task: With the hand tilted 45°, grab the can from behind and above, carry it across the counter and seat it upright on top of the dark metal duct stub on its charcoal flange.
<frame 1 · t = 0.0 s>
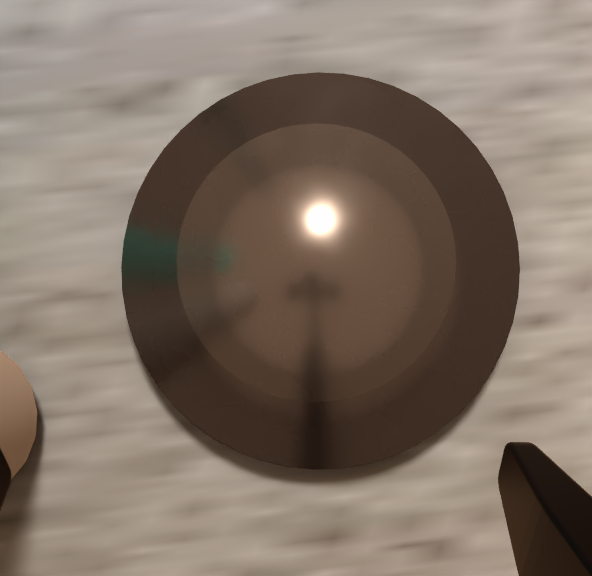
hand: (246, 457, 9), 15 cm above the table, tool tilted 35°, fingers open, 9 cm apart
duct stub: (316, 269, 24), on the table
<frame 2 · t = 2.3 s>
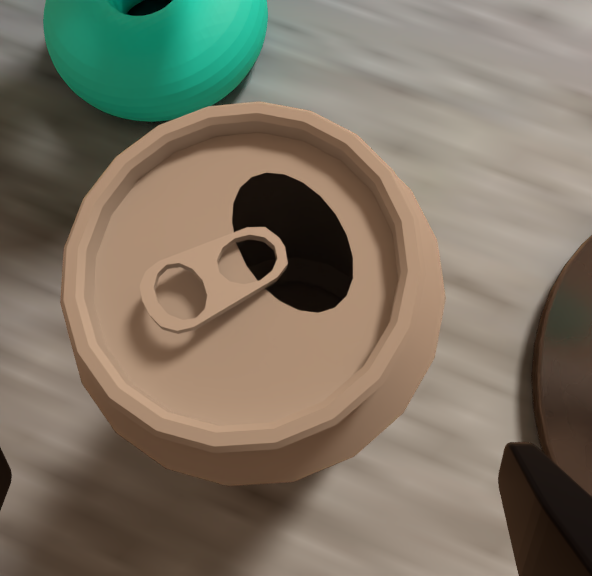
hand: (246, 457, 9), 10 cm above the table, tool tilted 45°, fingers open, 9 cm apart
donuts: (168, 45, 24), on the table
can: (291, 356, 20), on the table
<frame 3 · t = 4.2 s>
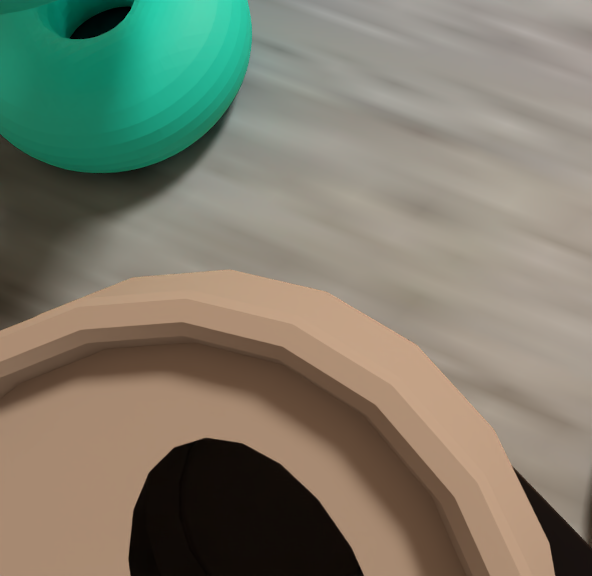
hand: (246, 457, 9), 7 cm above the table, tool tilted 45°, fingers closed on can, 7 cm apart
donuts: (128, 70, 19), on the table
can: (280, 491, 15), on the table, touching gripper
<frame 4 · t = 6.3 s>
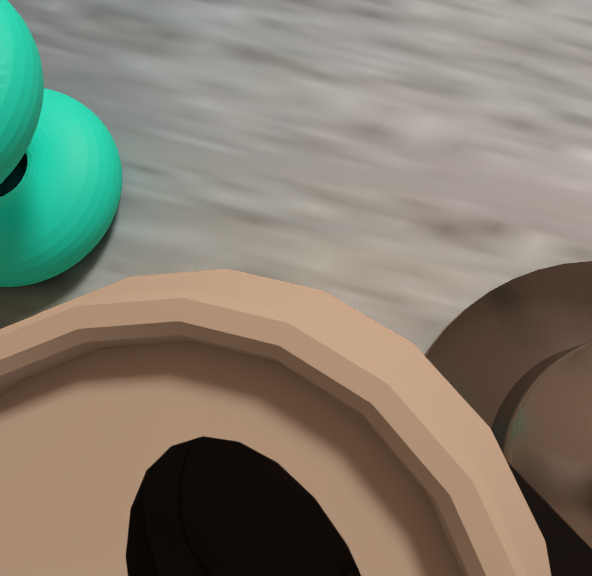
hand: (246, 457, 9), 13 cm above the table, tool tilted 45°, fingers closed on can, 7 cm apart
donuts: (36, 199, 26), on the table
can: (279, 490, 15), point 7 cm above the table, touching gripper
when the fingers open (11 cm above the table, at t = 8.2 s): can stays where it is, resting on duct stub.
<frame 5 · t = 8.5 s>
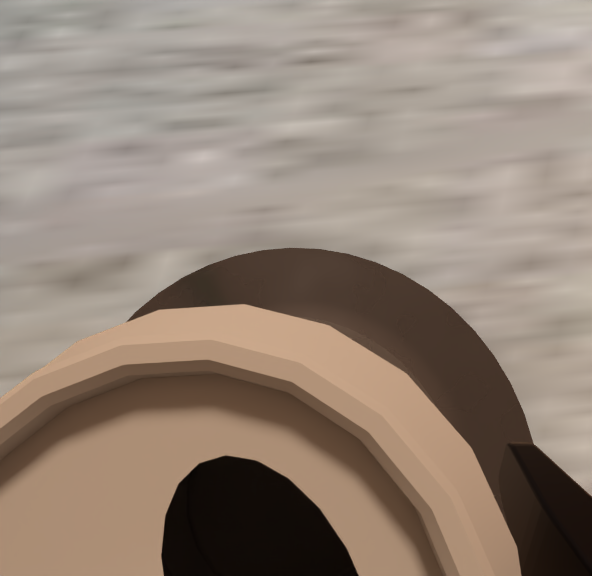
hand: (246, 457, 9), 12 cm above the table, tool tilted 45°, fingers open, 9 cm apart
can: (282, 493, 16), point 4 cm above the table, touching duct stub
duct stub: (292, 475, 20), on the table
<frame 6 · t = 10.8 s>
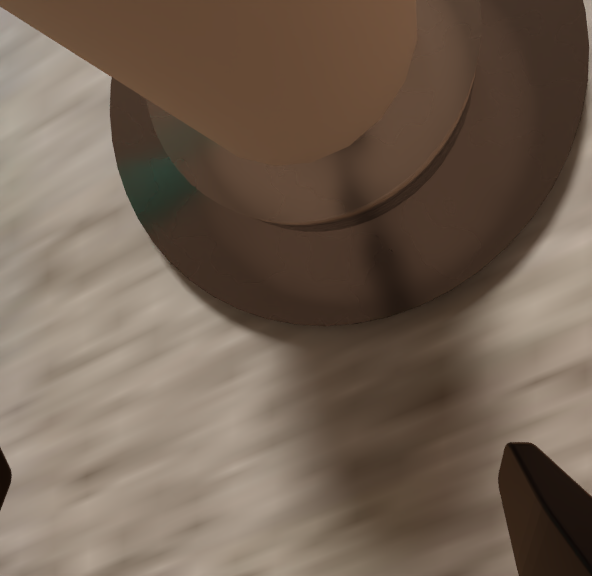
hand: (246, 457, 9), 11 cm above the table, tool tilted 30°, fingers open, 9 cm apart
can: (299, 56, 16), point 4 cm above the table, touching duct stub
duct stub: (324, 93, 20), on the table
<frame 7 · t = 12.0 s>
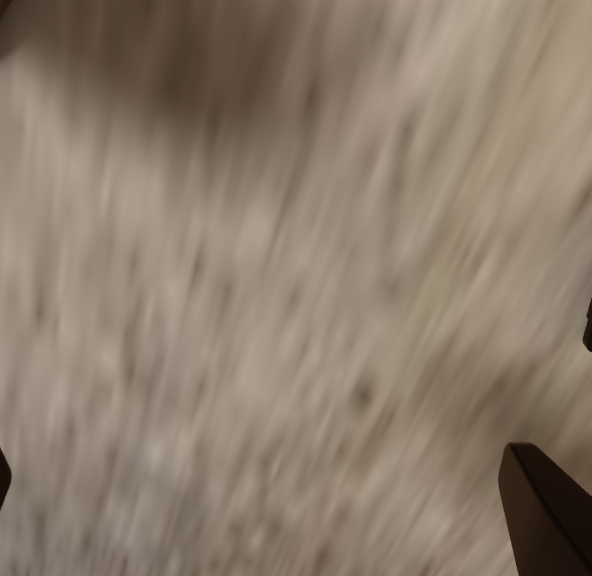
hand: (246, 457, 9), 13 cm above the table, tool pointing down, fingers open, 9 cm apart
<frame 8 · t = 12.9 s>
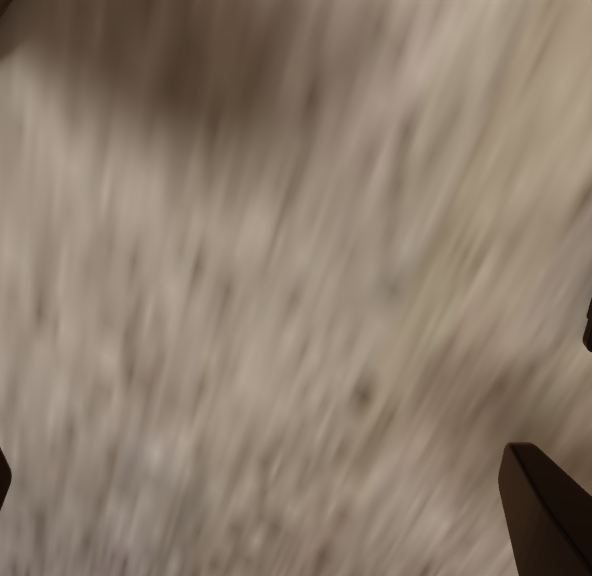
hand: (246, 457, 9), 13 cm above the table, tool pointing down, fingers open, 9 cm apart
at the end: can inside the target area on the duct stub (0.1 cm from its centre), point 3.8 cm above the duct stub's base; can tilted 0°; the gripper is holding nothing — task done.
